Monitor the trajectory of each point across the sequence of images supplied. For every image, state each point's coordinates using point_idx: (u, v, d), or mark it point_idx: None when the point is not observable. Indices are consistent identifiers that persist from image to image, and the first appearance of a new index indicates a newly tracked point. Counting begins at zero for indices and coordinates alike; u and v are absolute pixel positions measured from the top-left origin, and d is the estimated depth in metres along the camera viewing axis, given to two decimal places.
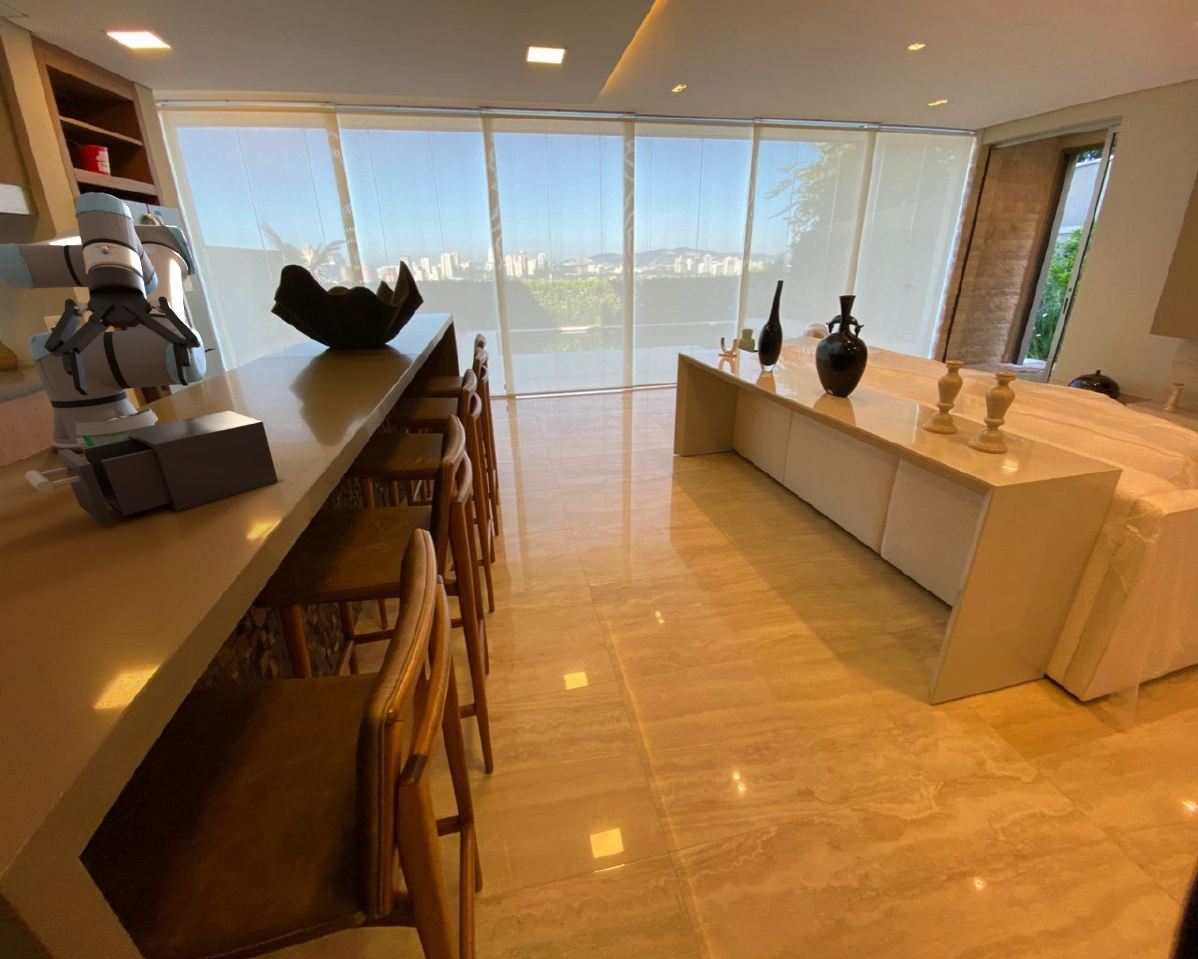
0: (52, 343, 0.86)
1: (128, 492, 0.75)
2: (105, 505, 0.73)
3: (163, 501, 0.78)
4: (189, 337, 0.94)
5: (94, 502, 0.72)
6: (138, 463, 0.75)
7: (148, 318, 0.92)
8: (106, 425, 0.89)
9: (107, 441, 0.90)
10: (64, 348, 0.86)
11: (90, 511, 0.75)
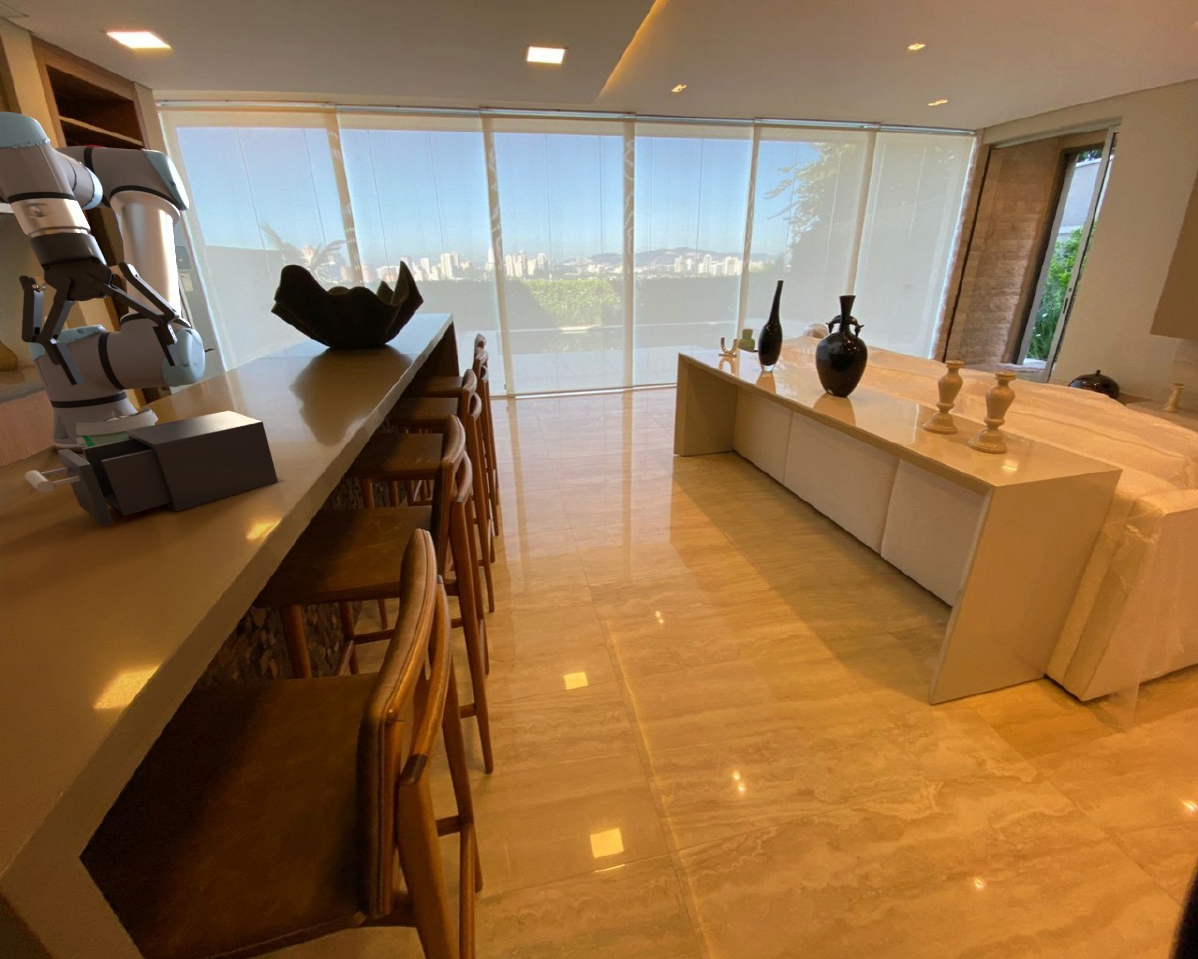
0: (28, 334, 0.80)
1: (128, 492, 0.75)
2: (105, 505, 0.73)
3: (163, 501, 0.78)
4: (166, 314, 0.86)
5: (94, 502, 0.72)
6: (138, 463, 0.75)
7: (116, 294, 0.83)
8: (106, 425, 0.89)
9: (107, 441, 0.90)
10: (43, 340, 0.81)
11: (90, 511, 0.75)
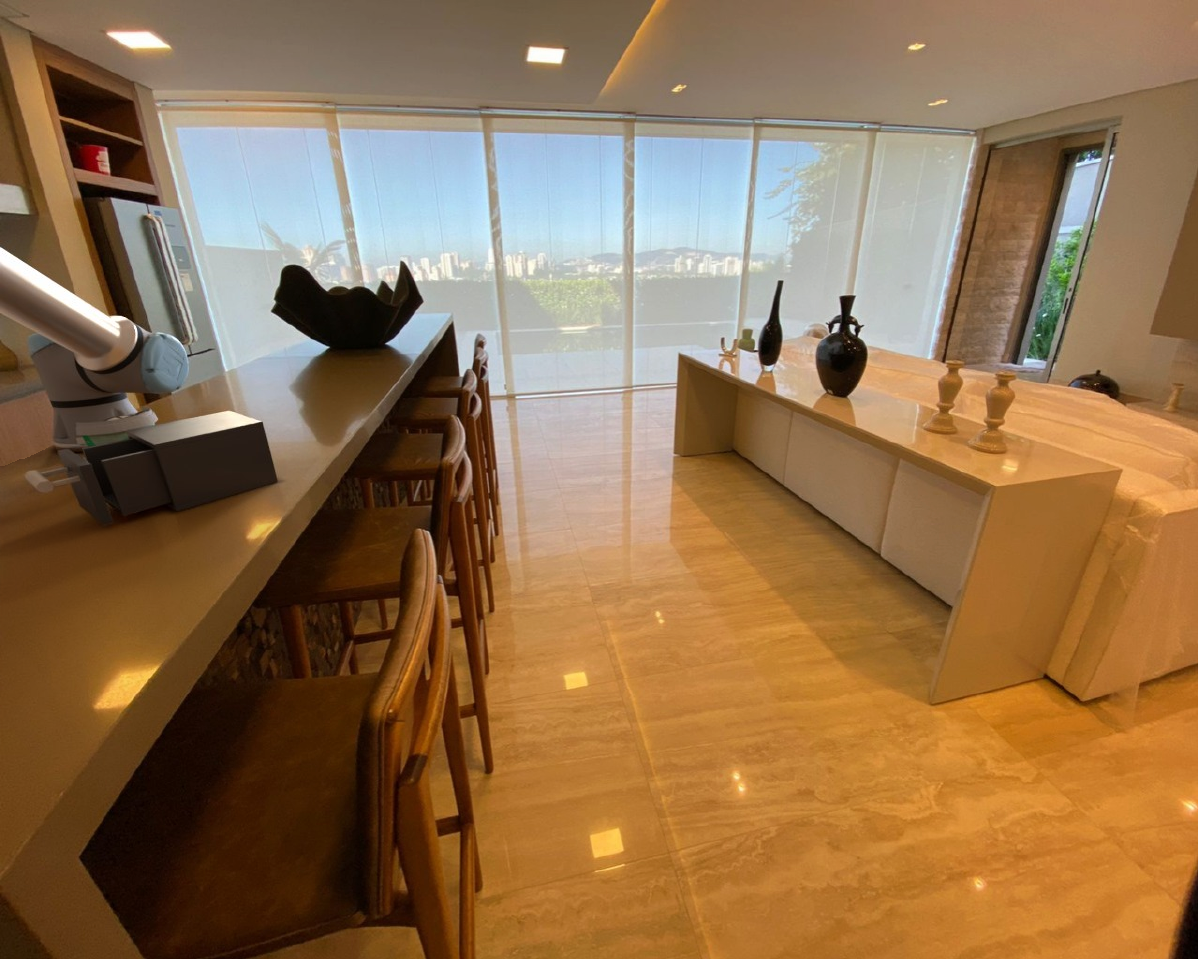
0: None
1: (128, 492, 0.75)
2: (105, 505, 0.73)
3: (163, 501, 0.78)
4: None
5: (94, 502, 0.72)
6: (138, 463, 0.75)
7: None
8: (106, 425, 0.89)
9: (107, 441, 0.90)
10: None
11: (90, 511, 0.75)
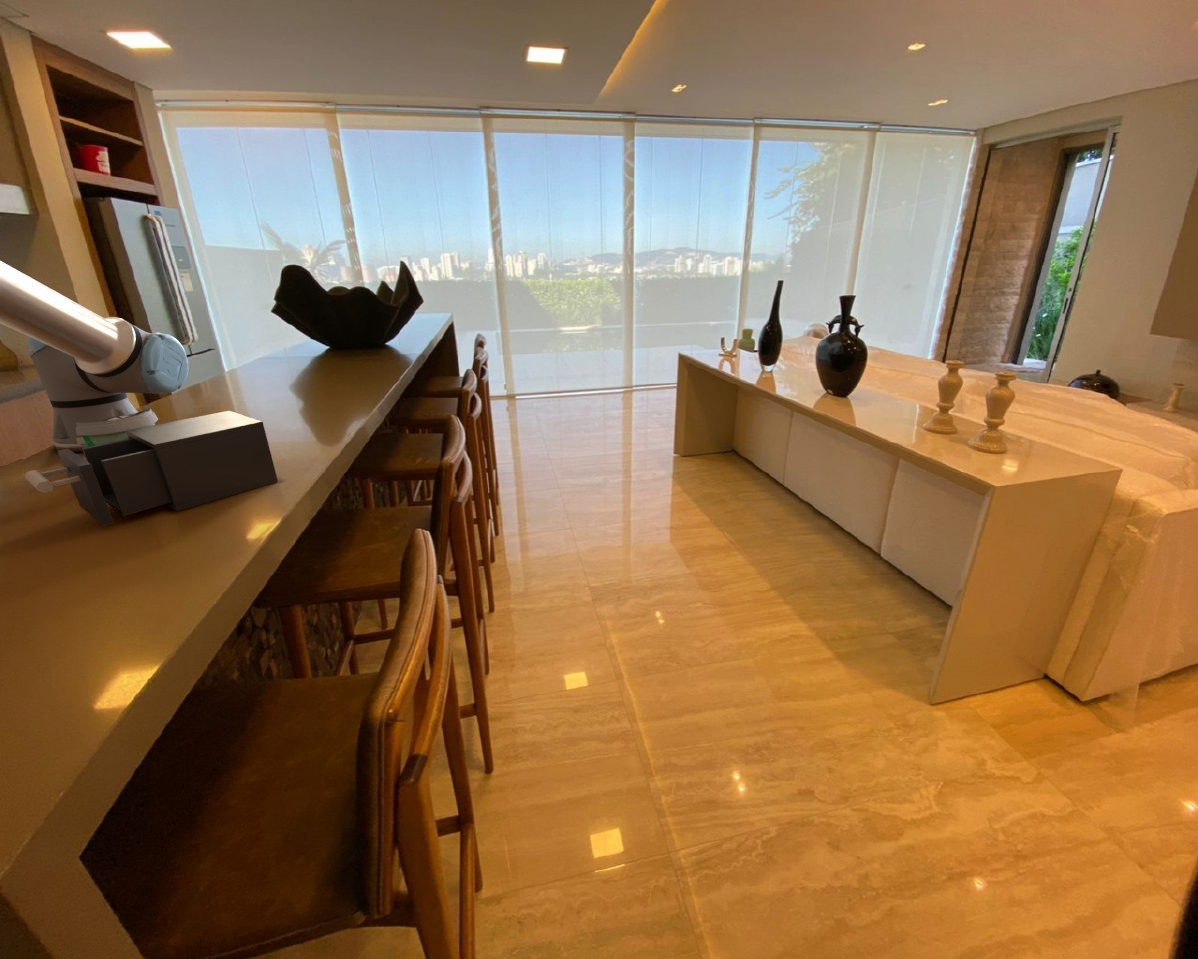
0: None
1: (128, 492, 0.75)
2: (105, 505, 0.73)
3: (163, 501, 0.78)
4: None
5: (94, 502, 0.72)
6: (138, 463, 0.75)
7: None
8: (106, 425, 0.89)
9: (107, 441, 0.90)
10: None
11: (90, 511, 0.75)
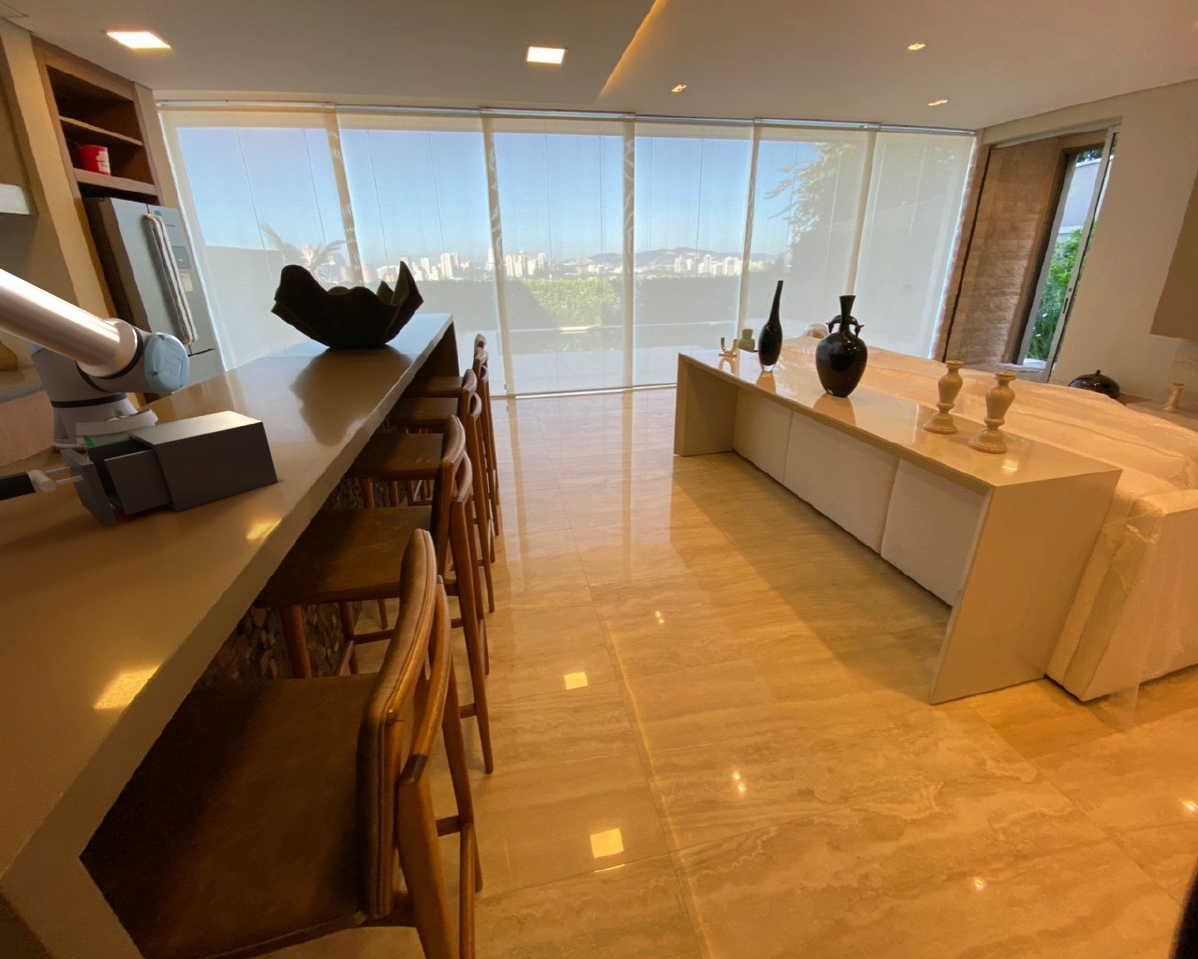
0: None
1: (130, 491, 0.75)
2: (108, 504, 0.73)
3: (165, 501, 0.79)
4: None
5: (97, 501, 0.72)
6: (140, 462, 0.75)
7: None
8: (106, 425, 0.89)
9: (107, 441, 0.90)
10: None
11: (93, 510, 0.75)
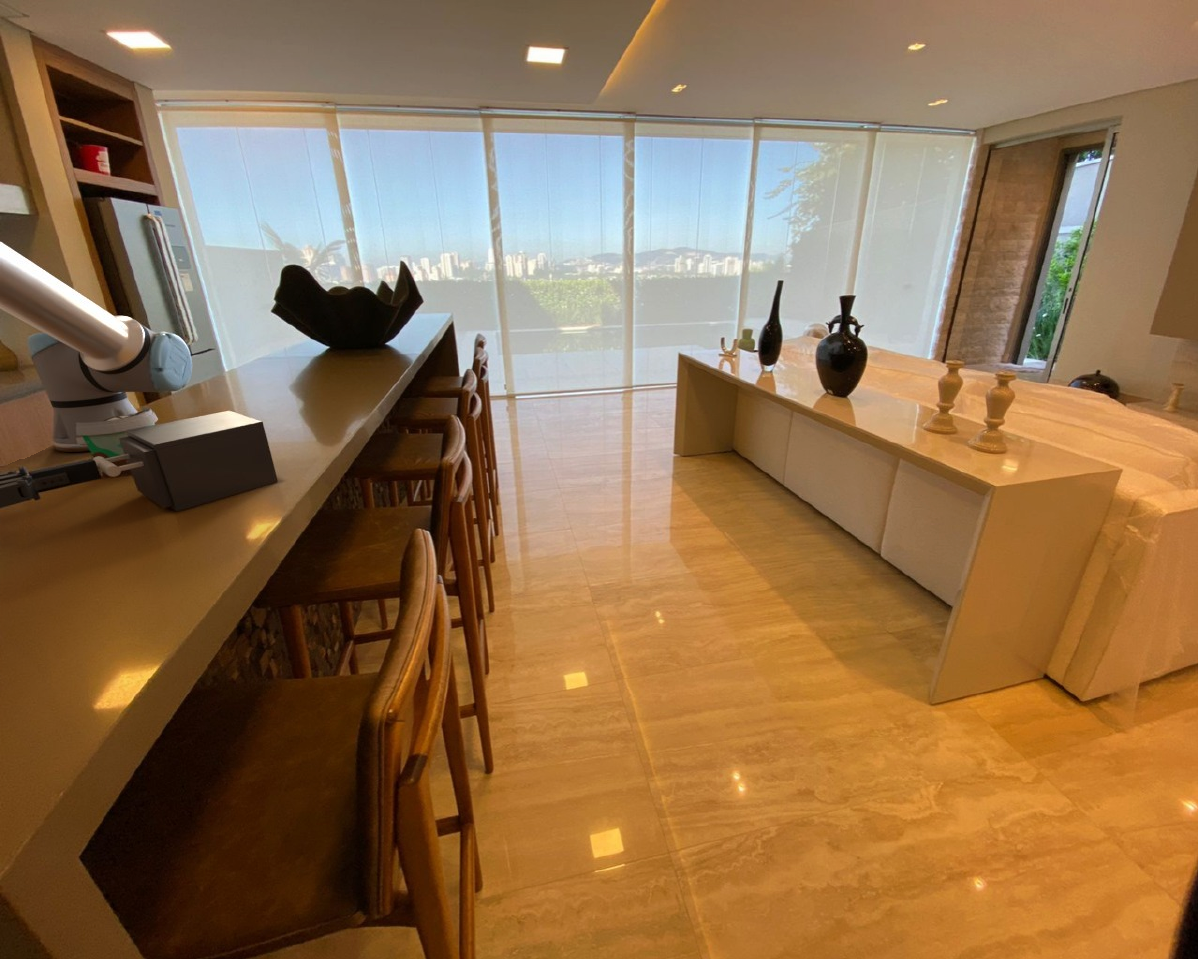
0: None
1: None
2: (166, 489, 0.78)
3: None
4: None
5: (156, 486, 0.77)
6: None
7: None
8: (106, 425, 0.89)
9: (107, 441, 0.90)
10: None
11: (150, 495, 0.80)
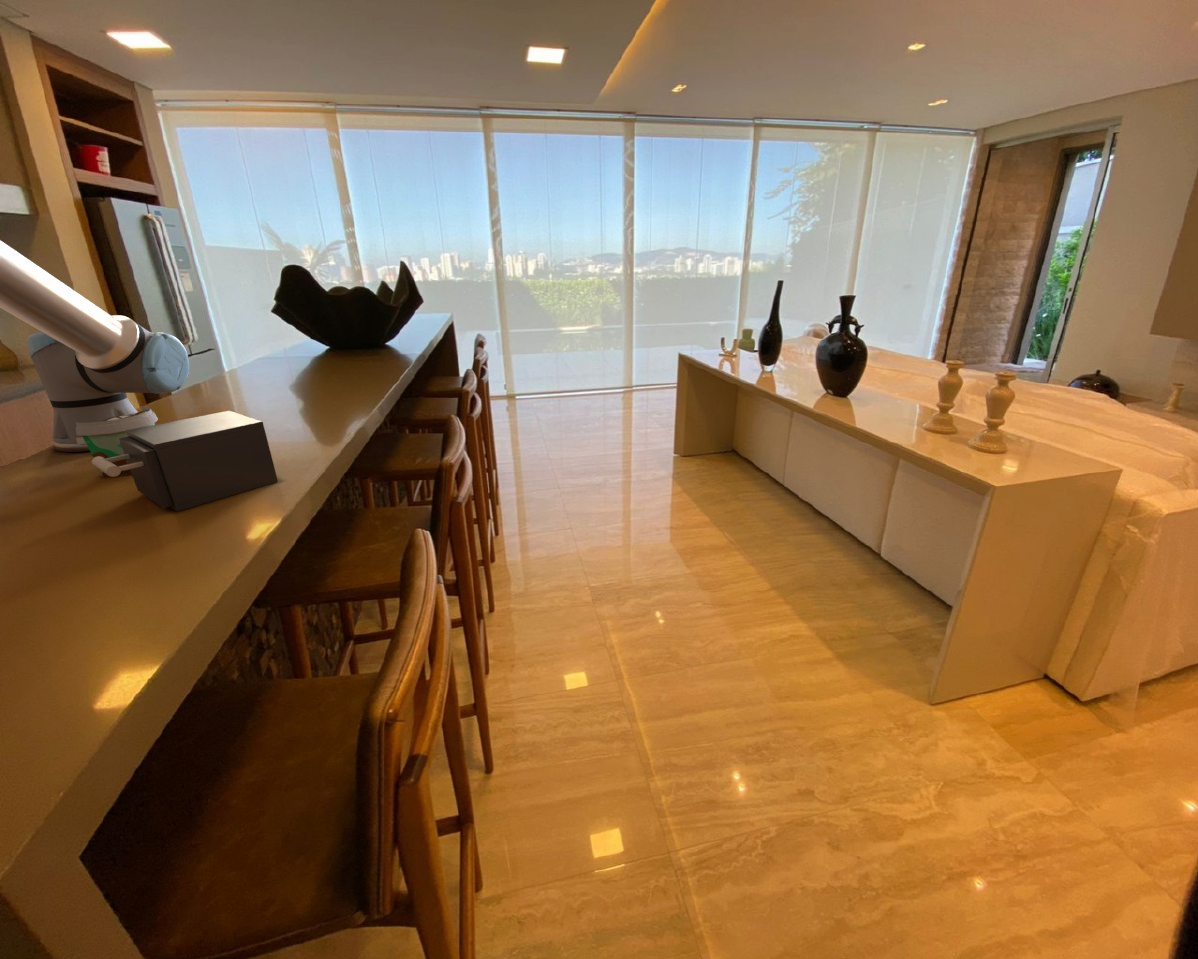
0: None
1: None
2: (166, 489, 0.78)
3: None
4: None
5: (156, 486, 0.77)
6: None
7: None
8: (106, 425, 0.89)
9: (107, 441, 0.90)
10: None
11: (150, 495, 0.80)
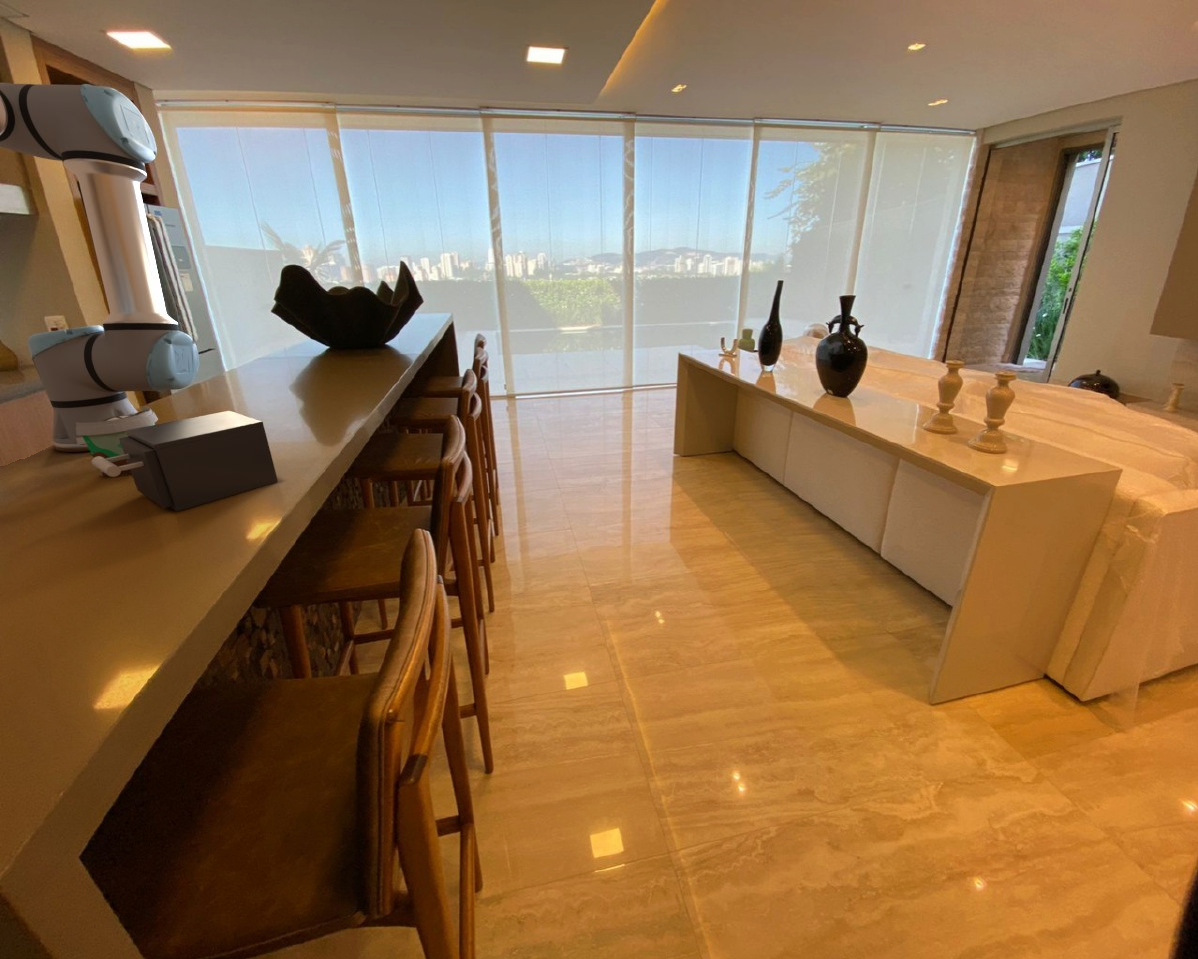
0: None
1: None
2: (166, 489, 0.78)
3: None
4: None
5: (156, 486, 0.77)
6: None
7: None
8: (106, 425, 0.89)
9: (107, 441, 0.90)
10: None
11: (150, 495, 0.80)
